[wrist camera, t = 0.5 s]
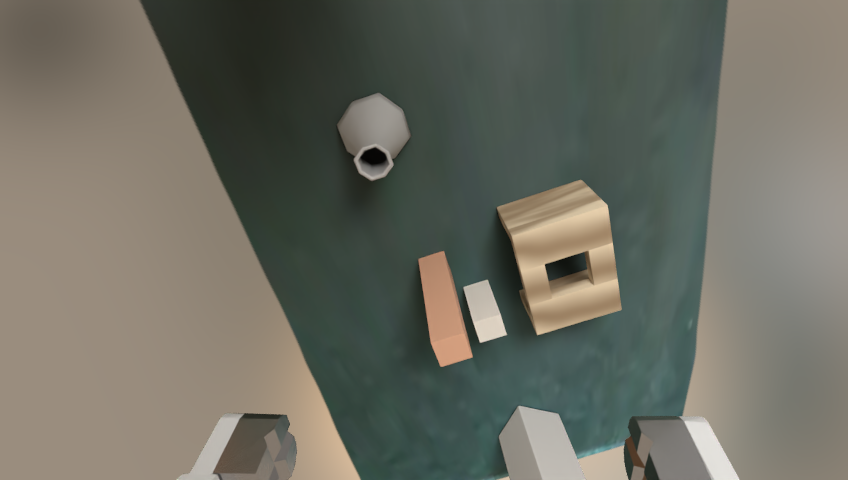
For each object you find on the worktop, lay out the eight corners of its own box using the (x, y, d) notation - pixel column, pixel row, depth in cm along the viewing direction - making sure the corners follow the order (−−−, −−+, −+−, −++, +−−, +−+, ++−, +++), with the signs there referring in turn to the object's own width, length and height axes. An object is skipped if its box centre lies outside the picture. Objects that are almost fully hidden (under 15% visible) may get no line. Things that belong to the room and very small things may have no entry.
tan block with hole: (496, 207, 54) (511, 236, 48) (581, 179, 53) (607, 205, 47) (521, 299, 61) (537, 335, 55) (596, 276, 60) (621, 309, 54)
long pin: (418, 258, 56) (430, 343, 43) (443, 250, 56) (463, 332, 43) (426, 279, 58) (440, 366, 45) (451, 271, 58) (472, 357, 45)
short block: (463, 287, 59) (473, 322, 53) (487, 279, 59) (500, 314, 53) (469, 306, 60) (480, 342, 54) (493, 298, 60) (506, 334, 54)
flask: (380, 78, 46) (381, 101, 37) (423, 136, 49) (432, 170, 40) (324, 122, 48) (312, 154, 39) (368, 176, 51) (367, 216, 42)
